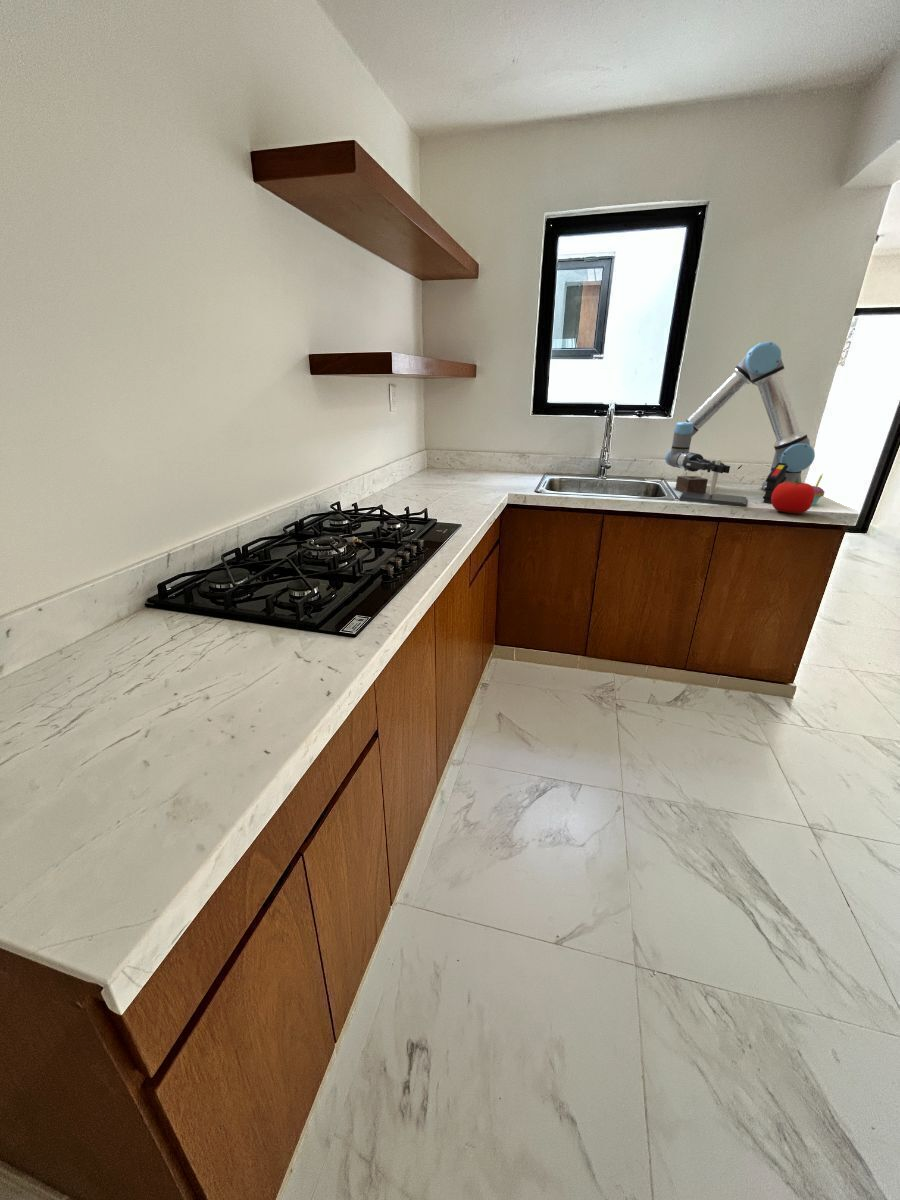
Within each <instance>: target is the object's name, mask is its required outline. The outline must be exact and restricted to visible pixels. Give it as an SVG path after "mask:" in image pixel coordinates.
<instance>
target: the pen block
mask: <svg viewBox="0 0 900 1200" xmlns="http://www.w3.org/2000/svg"><path fill="white" fill-rule="evenodd" d="M707 486H708V478H705V477H703V476H702V477H701V476H697V475H677V478H676V483H675V488H674V490H676V491H678V492H681V493H683V492H684V491H687V492H699V493H706V491H707Z"/></svg>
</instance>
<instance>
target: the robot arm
mask: <svg viewBox="0 0 900 1200" xmlns="http://www.w3.org/2000/svg"><path fill="white" fill-rule="evenodd" d="M785 369H786V368H785V366H784V361H783V359H782V350H781V348H780V347H779V345H777V343H775V342H773V341H761V342H759V343H756V344H755V345H754V346H752V347H751V348H750V349H749V350H748V351H747V353H746V354H745V356H744V357H743V359H742V360H741V361H740V362H739V363H738V364H737V365H736V366H735V367H734V369H733V373H731V374H730V375H729V376H728V377H727V378H726V380H725V381H724V382H722V383H721V385H719V386H718V388H717V389H715V390H714V392H713V393H711V394H710V396H708V397H707V398H706V399H705V400H704V401H703V402H702V403H701V404H700V405H699V406H698V407H697V408H696V409H695V410H694V412H693V413H691V414H690V415H689V417H687V418H686V419H685V421H677V422H676V424H675V427H674V431H673V435H672V436H673V437H672V442H671V443H672V444H671V449H670V450H669V451H667V453H666V455H665V457H664V459H665V463H666V464H667V465H668V466H670V467H672V468H676V469H682V470H684V472H687V471H688V472H694V473H695V472H698V471H706V472H707V473H711V472H718V474H729V473H730V469H731V465H727V464H725V463H723V462H722V461H721V462H720V465H717V464H715V462H716V460H710V459H706V458H704V456H703V455H702V454H700V453H696V452H691V451H690V448H691V442H692V438H693V436H695V435H696V434H697V433H698V432H699V431H700V429H702V428H703V427H704V426H705V425H706V424H707V423H708V422H709V421H710V420H712V418H713V417H714V416H716V414H717V413H718V412H720V411H721V409H723V408H724V407H725V406H726V405H727V404H728V403H729V402H730V401H731V400H732V399H733V398H734V397H735V396H737V394H738V393H740V391H741V390H742V389H743V388H745V387H746V386H747V385H750V384H752V385H755V386H757V388H758V391H759V393H760V396H761V399H762V402H763V406H764V408H765V411H766V414H767V416H768V421H769V423H770V425H771V429H772V431H773V435H774V437H775V440H776V441H775V442H774V444H773V447H774V451H775V452H774V455H773V460H772V463H771V468H770V471H769V474H770V473H771V472H772V470H773V469H774V468H775V466H776V465H777V464H778V463H787V466H788V468H787V469H786V474H785V477H786V480H785V481H784V482H791V481H792V482H795V481H797V482H800V483H802V471H805V470H806V469H808V468H809V467H810V466H811V465H812V464H813V462H814V460H815V455H816V453H815V452H816V451H815V449H814V448H813V446H812V445H811V443H810V438H809V437H808V434H807V433H806V432H805V431H802V430H801V428H800V424H799V421H798V419H797V416H796V413H795V410H794V406H793V404H792V401H791V398H790V395H789V392H788V389H787V387H786V383H785V380H784V378H783V373H784V371H785ZM769 474H768V475H769ZM767 478H768V476H767V477H766V478H765V480H764V481H763V482H762V485H761V490H763V491H765V492H766V490H765V488H766V487H767V482H766V479H767Z"/></svg>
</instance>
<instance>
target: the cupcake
mask: <svg viewBox="0 0 900 1200" xmlns="http://www.w3.org/2000/svg"><path fill="white" fill-rule="evenodd" d="M823 475H824V473H821V475H820V476H819V477H818V480H817V482H816V484H815V485H811V486H812V487H813V489H814V500H813V503H812V505H811V506H815V505H816V504H817V503H818V502H819V500H820V499H821V498H822V497H824V496H825V490H824V489H823V488H821V487H820V486H819V484H820V482H821V480H822V478H823Z"/></svg>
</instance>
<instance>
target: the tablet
mask: <svg viewBox="0 0 900 1200" xmlns="http://www.w3.org/2000/svg"><path fill="white" fill-rule="evenodd" d="M679 501H682V502H692V503H702V504H703V503H704V504H713V505H723V506H724V505H725V506H734V507H747V496H744V495H732V494H731V495H730V494H723V493H721V494H720V493H719V494H718V493H714V495H713V496H712V497H710V494H709V492H705V493H699V492H687V491H684V492H682V494H681V496H680V497H679Z"/></svg>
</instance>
